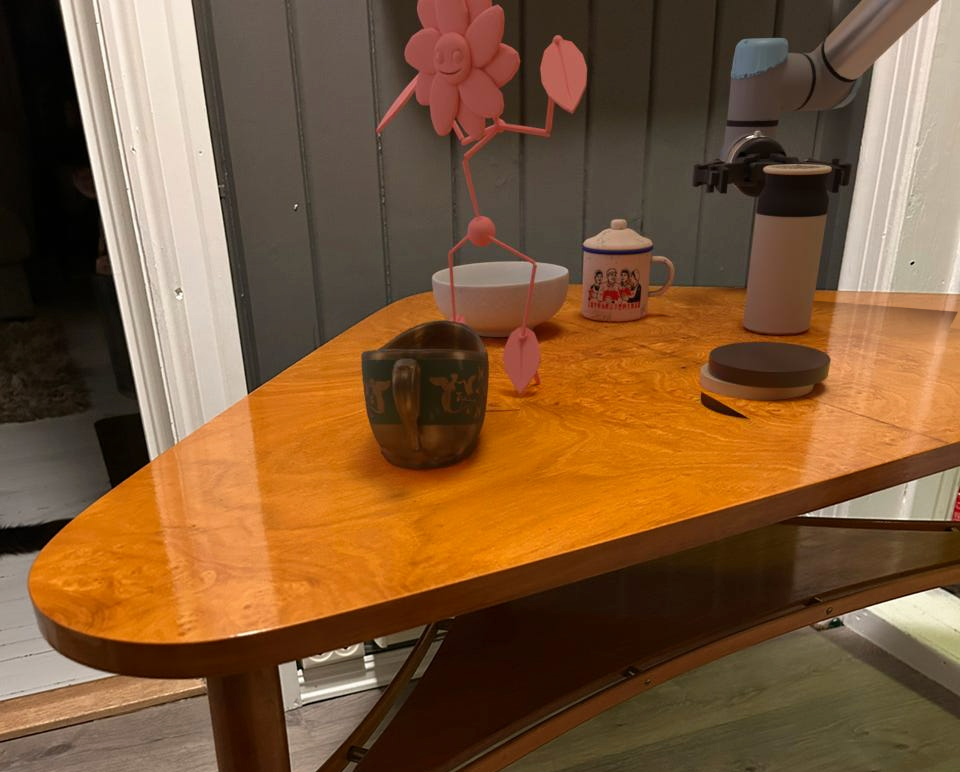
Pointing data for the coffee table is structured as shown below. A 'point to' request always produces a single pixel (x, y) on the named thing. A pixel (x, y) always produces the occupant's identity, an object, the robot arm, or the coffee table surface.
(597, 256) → the teacup with lid
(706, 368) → the coaster pile
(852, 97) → the robot arm
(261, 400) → the coffee table surface
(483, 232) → the figurine
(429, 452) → the cup
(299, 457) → the coffee table surface
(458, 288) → the cereal bowl
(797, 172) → the travel mug
